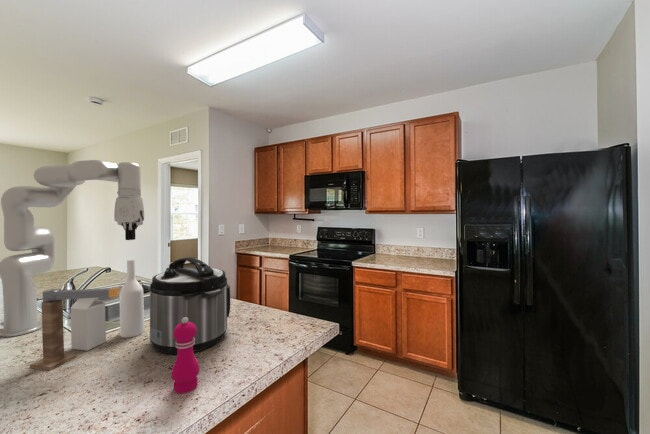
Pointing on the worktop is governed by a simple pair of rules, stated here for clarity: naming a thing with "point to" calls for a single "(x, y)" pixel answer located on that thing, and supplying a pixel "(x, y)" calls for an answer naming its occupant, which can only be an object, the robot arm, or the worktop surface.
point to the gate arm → (79, 294)
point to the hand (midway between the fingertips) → (130, 239)
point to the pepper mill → (185, 358)
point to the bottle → (131, 304)
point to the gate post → (52, 337)
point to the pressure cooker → (188, 304)
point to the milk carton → (87, 323)
